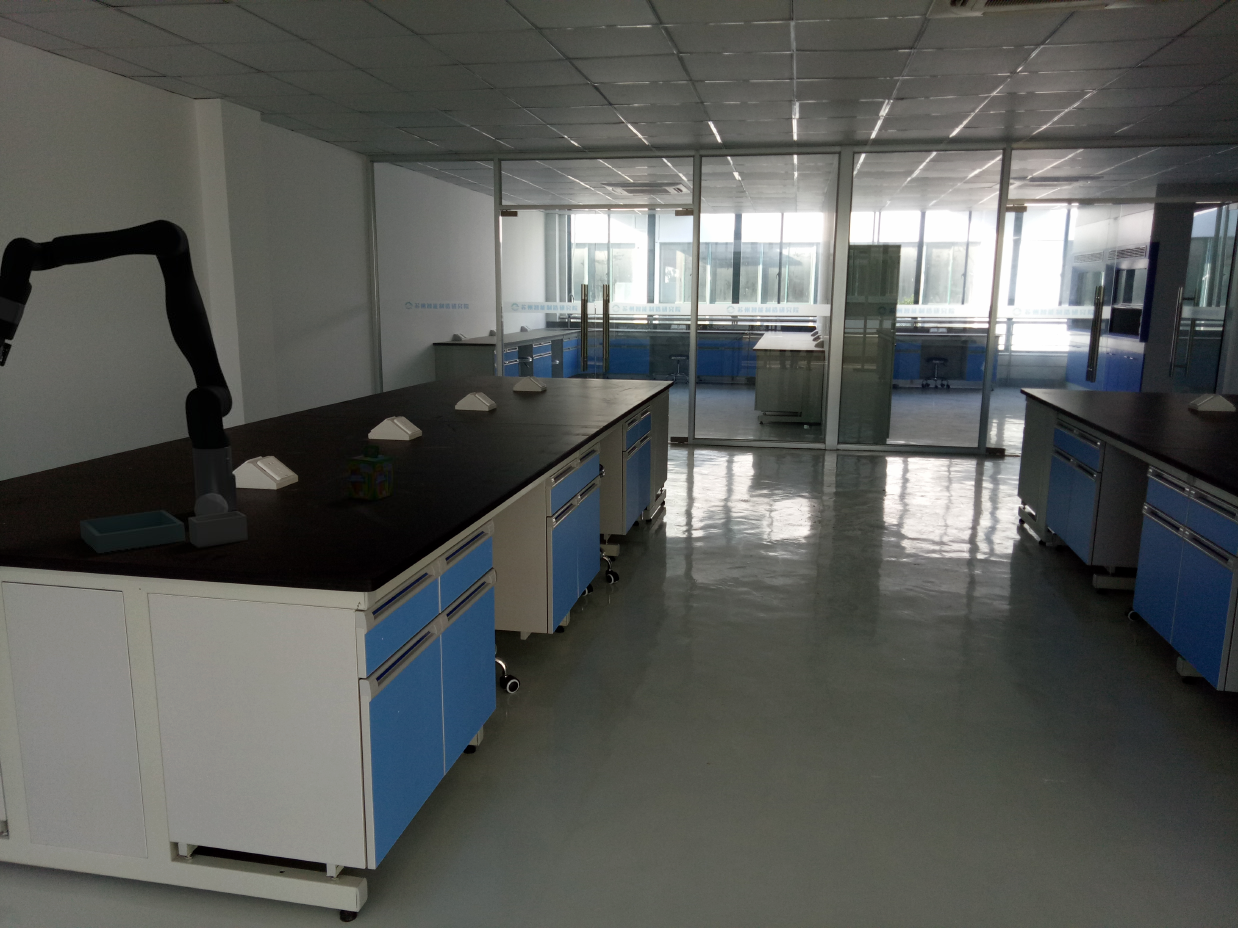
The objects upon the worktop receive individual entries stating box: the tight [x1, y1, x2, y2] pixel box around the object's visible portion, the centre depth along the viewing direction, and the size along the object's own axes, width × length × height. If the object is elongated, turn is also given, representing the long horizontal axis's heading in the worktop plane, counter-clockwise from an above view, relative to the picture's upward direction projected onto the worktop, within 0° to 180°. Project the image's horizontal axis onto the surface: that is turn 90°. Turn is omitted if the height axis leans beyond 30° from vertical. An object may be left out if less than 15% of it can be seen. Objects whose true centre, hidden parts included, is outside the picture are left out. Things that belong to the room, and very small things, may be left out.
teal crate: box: [79, 509, 186, 554], centre depth 207 cm, size 18×17×4 cm
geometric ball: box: [193, 493, 228, 517], centre depth 223 cm, size 8×8×8 cm
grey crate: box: [188, 510, 249, 548], centre depth 207 cm, size 11×6×6 cm, turn 131°
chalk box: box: [347, 444, 394, 502], centre depth 254 cm, size 9×9×15 cm
